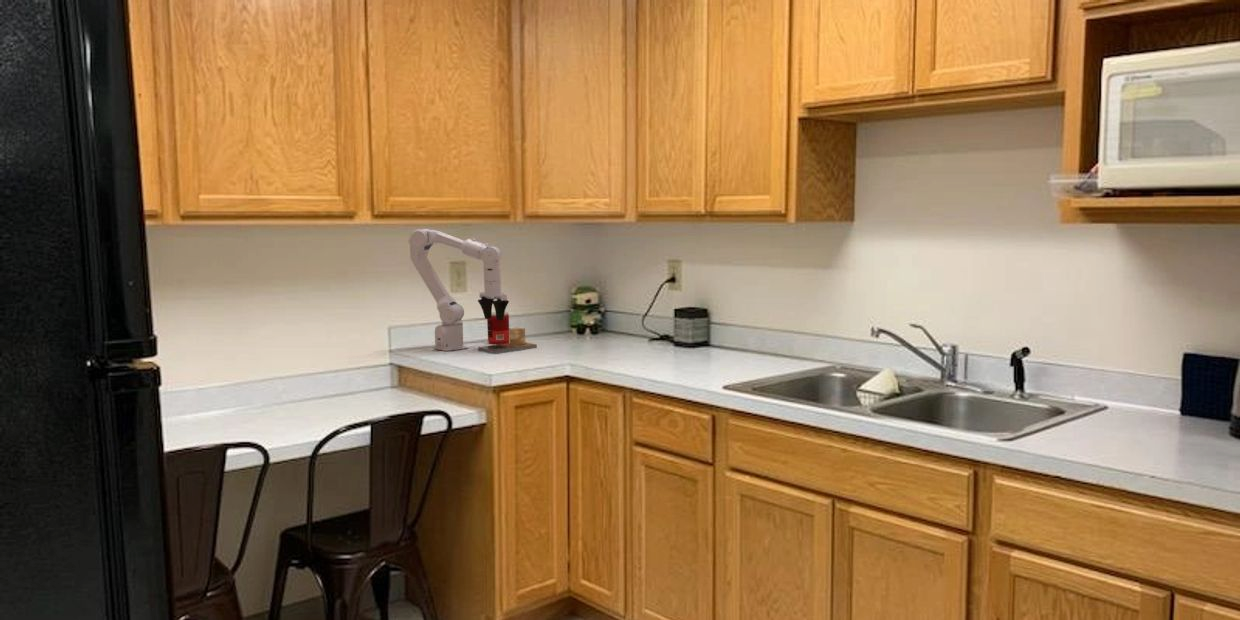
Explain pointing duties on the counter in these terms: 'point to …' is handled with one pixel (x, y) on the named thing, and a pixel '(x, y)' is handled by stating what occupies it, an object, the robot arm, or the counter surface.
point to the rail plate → (505, 348)
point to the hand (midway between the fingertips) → (493, 319)
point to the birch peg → (517, 336)
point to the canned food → (498, 329)
